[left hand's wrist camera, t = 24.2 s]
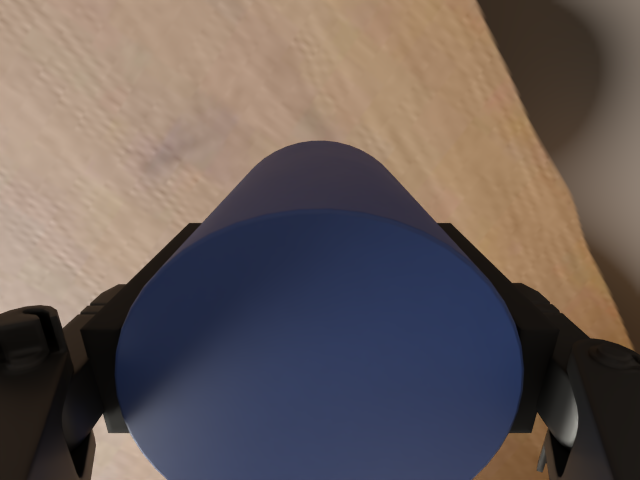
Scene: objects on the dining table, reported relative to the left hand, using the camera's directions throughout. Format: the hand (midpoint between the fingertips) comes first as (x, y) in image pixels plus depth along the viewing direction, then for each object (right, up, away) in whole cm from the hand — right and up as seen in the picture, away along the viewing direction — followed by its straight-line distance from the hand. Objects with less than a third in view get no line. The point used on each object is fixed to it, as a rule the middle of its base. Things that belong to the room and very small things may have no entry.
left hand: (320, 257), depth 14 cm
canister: (0, +1, +3) cm, 3 cm away
